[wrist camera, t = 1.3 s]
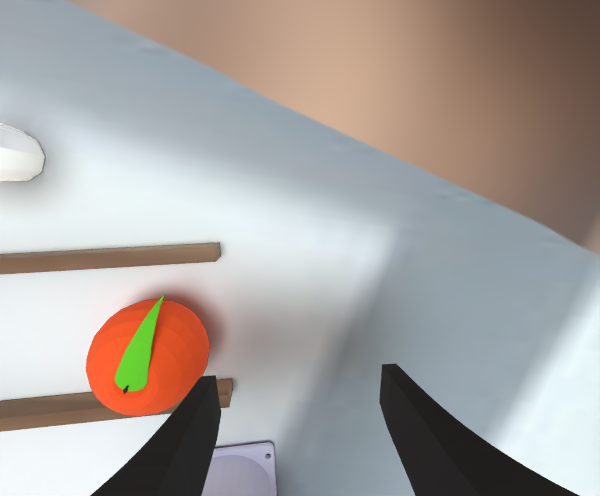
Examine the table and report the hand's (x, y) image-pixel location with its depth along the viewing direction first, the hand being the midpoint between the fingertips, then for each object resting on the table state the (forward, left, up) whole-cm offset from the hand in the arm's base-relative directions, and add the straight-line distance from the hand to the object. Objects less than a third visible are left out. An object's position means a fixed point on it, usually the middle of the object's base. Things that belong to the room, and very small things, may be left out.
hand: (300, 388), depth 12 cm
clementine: (-1, +9, -11) cm, 14 cm away
